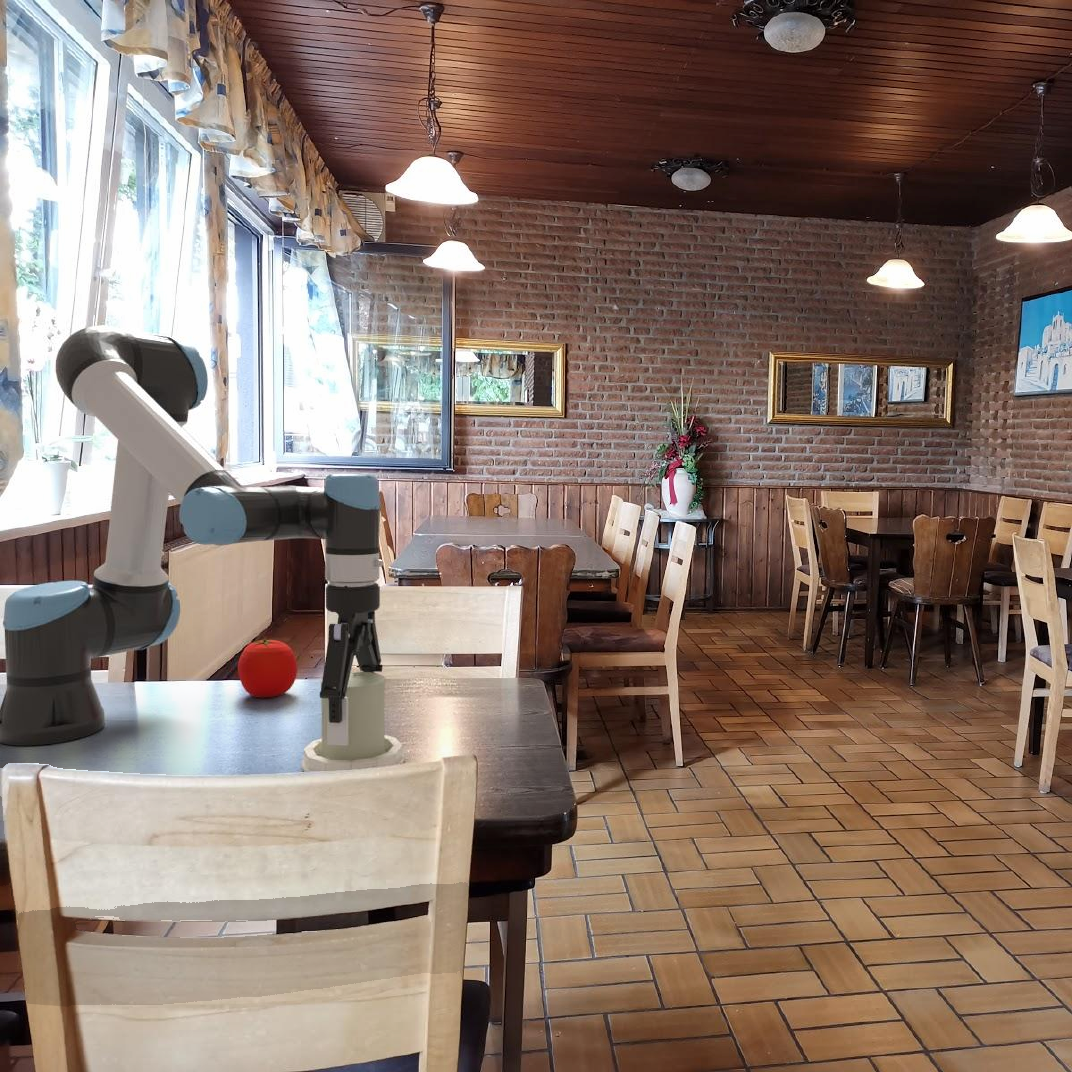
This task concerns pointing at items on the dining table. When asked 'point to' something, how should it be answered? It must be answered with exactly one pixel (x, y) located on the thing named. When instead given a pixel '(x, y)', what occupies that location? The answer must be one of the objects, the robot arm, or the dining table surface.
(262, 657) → the tomato
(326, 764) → the saucer
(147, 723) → the dining table surface
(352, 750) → the can
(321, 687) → the robot arm
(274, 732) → the dining table surface
